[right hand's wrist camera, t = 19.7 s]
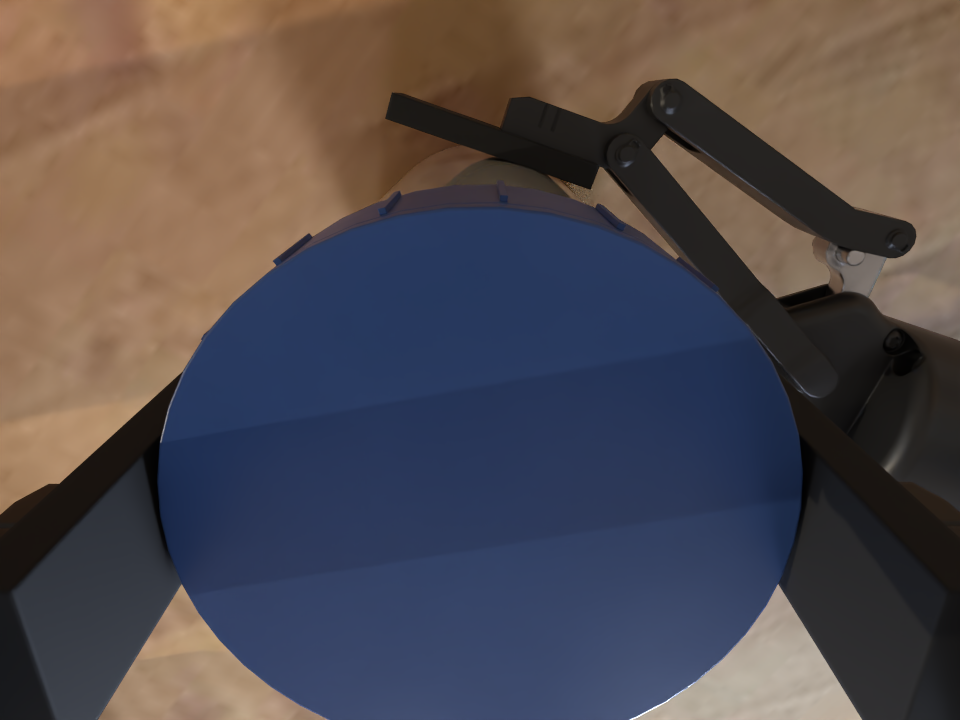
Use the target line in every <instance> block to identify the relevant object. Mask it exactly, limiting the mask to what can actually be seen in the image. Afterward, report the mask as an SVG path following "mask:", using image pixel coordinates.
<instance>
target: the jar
mask: <svg viewBox="0 0 960 720" xmlns="http://www.w3.org/2000/svg"><path fill="white" fill-rule="evenodd" d="M497 180H501V181H504V184H505V186H512V187H521V188H529V189H536V190H540V191H544V192H548V193H552V194H556V195H559V196H563V197H567V198H571V199H575V200H577V201H579V202H582V201H581V200H580V199H579V198H578V197H577V196H576V195H575V194H574V193H573V192H572V191H571V190H570V189H569V188H568V187H567V186H566V185H565V184H564V183H563V182H562V181H561V180H560V179H558V178H555V177H552V176H550V175H547V174H544V173H541V172H538V171H535V170H532V169H530V168H526V167H524V166H521V165H518V164H515V163H512V162H509V161H506V160H503V159H500V158H498V157H495V156H492V155H489V154H486V153H483V152H480V151H477V150H475V149H472V148H469V147H466V146H463V145H459V146H455V147H451V148H448V149H445V150H442V151H440V152H438V153H435V154H433V155H431V156H429V157H428V158H426V159H424V160H423V161H421V162H420V163H418V164H417V165H416V166H415V167H413V168H412V169H411V170H410V171H409V172H408V173H407V174H406V175H405V176H404V177H403V178H402V179H401V180H399V181H398V182H397V183H396V184H395V185H394V186H393V187H392V188H391V189H390V190H389V191H388V192H387V193H386V194H385V195H384V196H383V197H382V198H381V199H380V200H379V201H378V202H380V201H384V200H387V199H388V198H389V197H390V196H391V195H392V194H393V193H394V192H396V191H400V192H401V195H404V194H408V193H411V192H414V191H420V190H426V189H433V188H440V187H446V186H453V185H497ZM582 203H583V202H582Z"/></svg>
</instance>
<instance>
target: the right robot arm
mask: <svg viewBox="0 0 960 720" xmlns="http://www.w3.org/2000/svg"><path fill="white" fill-rule="evenodd" d="M182 373H183V372H182ZM182 373H181V374H179V375H178V376H177V377H176V378H175V379H174V380H173V381H172V382H171V383H170V384H169V385H167V386H166V387H165V388H164V389H163V390H162V391H161V392H160V393H159V394H158V395H156V396H155V397H154V398H153V399H152V400H151V401H150V402H149V403H148V404H147V405H145V406H144V407H143V408H142V409H141V410H140V411H139V412H138V413H137V414H136V415H134V416H133V417H132V418H131V419H130V420H129V421H128V422H127V423H126V424H125V425H123V426H122V427H121V428H120V429H119V430H118V431H117V432H116V433H115V434H114V435H112V436H111V437H110V438H109V439H108V440H107V441H106V442H105V443H104V444H103V445H102V446H100V447H99V448H98V449H97V450H96V451H95V452H94V453H93V454H92V455H91V456H89V457H88V458H87V459H86V460H85V461H84V462H83V463H82V464H81V465H80V466H78V467H77V468H76V469H75V470H74V471H73V472H72V473H71V474H70V475H69V476H67V477H66V478H65V479H64V480H63V481H62V482H61V483H60V484H48V485H46V486H44V487H42V488H40V489H39V490H37V491H35V492H33V493H31V494H29V495H28V496H26V497H24V498H22V499H20V500H18V501H16V502H15V503H14V504H12V505H11V506H10V507H9V508H8V509H7V510H5V511H4V512H3V513H2V514H1V515H0V720H98V718H99V717H100V715H101V713H102V712H103V710H104V709H105V707H106V705H107V704H108V702H109V701H110V699H111V697H112V696H113V694H114V692H115V691H116V689H117V688H118V686H119V684H120V683H121V681H122V679H123V678H124V676H125V675H126V673H127V671H128V670H129V668H130V667H131V665H132V663H133V662H134V660H135V658H136V657H137V655H138V654H139V652H140V650H141V649H142V647H143V645H144V644H145V642H146V641H147V639H148V637H149V636H150V634H151V633H152V631H153V629H154V628H155V626H156V624H157V623H158V621H159V620H160V618H161V616H162V615H163V613H164V612H165V610H166V608H167V607H168V605H169V603H170V602H171V600H172V599H173V597H174V595H175V594H176V592H177V590H178V589H179V587H180V586H181V584H182V583H181V581H180V578H179V576H178V573H177V571H176V568H175V566H174V564H173V561H172V559H171V556H170V554H169V551H168V547H167V543H166V539H165V535H164V531H163V527H162V522H161V518H160V510H159V498H158V486H157V474H158V461H159V447H160V440H161V436H162V432H163V428H164V423H165V419H166V415H167V411H168V407H169V404H170V402H171V399H172V397H173V394H174V392H175V390H176V387H177V385H178V382H179V380H180V378H181V375H182ZM777 373H778V372H777ZM778 376H779V378H780V380H781V382H782V384H783V386H784V389H785V391H786V393H787V395H788V397H789V401H790V404H791V408H792V411H793V415H794V419H795V422H796V426H797V429H798V433H799V440H800V449H801V458H802V467H803V484H802V505H801V512H800V517H799V522H798V527H797V532H796V537H795V542H794V545H793V548H792V550H791V553H790V556H789V559H788V561H787V564H786V567H785V570H784V572H783V575H782V577H781V579H780V581H779V583H778V584H779V586H780V587H781V589H782V590H783V592H784V594H785V595H786V597H787V599H788V600H789V602H790V603H791V605H792V607H793V608H794V610H795V612H796V613H797V615H798V616H799V618H800V620H801V621H802V623H803V624H804V626H805V628H806V629H807V631H808V633H809V634H810V636H811V637H812V639H813V641H814V642H815V644H816V646H817V647H818V649H819V650H820V652H821V654H822V655H823V657H824V658H825V660H826V662H827V663H828V665H829V667H830V668H831V670H832V671H833V673H834V675H835V676H836V678H837V680H838V681H839V683H840V684H841V686H842V688H843V689H844V691H845V692H846V694H847V696H848V697H849V699H850V701H851V702H852V704H853V705H854V707H855V709H856V710H857V712H858V714H859V715H860V717H861V718H862V720H960V512H959V511H958V510H957V509H956V508H954V507H953V506H952V505H951V504H950V503H949V502H947V501H946V500H945V499H943V498H941V497H939V496H937V495H935V494H934V493H932V492H930V491H928V490H926V489H924V488H922V487H921V486H919V485H917V484H915V483H913V482H898V481H897V480H896V479H895V478H894V477H893V476H891V475H890V474H889V473H888V472H887V471H886V470H885V469H884V468H883V467H882V466H880V465H879V464H878V463H877V462H876V461H875V460H874V459H873V458H872V457H871V456H869V455H868V454H867V453H866V452H865V451H864V450H863V449H862V448H861V447H860V446H858V445H857V444H856V443H855V442H854V441H853V440H852V439H851V438H850V437H849V436H847V435H846V434H845V433H844V432H843V431H842V430H841V429H840V428H839V427H838V426H836V425H835V424H834V423H833V422H832V421H831V420H830V419H829V418H828V417H827V416H826V415H824V414H823V413H822V412H821V411H820V410H819V409H818V408H817V407H816V406H815V405H813V404H812V403H811V402H810V401H809V400H808V399H807V398H806V397H805V396H804V395H802V394H801V393H800V392H799V391H798V390H797V389H796V388H795V387H794V386H793V385H791V384H790V383H789V382H788V381H787V380H786V379H785V378H784V377H783V376H782V375H780V374H779V373H778Z"/></svg>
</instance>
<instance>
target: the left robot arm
mask: <svg viewBox="0 0 960 720" xmlns="http://www.w3.org/2000/svg"><path fill="white" fill-rule="evenodd" d="M385 119H388V120H391V121H394V122H397V123H399V124H402V125H405V126H408V127H411V128H414V129H417V130H420V131H423V132H425V133H428V134H431V135H434V136H437V137H440V138H443V139H446V140H449V141H451V142H454V143H457V144H460V145H463V146H466V147H469V148H472V149H475V150H477V151H480V152H483V153H486V154H489V155H492V156H495V157H498V158H500V159H503V160H506V161H509V162H512V163H515V164H518V165H521V166H524V167H526V168H530V169H532V170H535V171H538V172H541V173H544V174H547V175H550V176H552V177H555V178H558V179H561V180H564V181H567V182H570V183H573V184H576V185H578V186H581V187H584V188H587V189H591V187H592V184H593V182H594V179H595V176H596V174H597V171H598V169H599V166H600V167H603V168H604V169H605V171H606V172H607V173H608V174H609V175H610V176H611V178H612V179H613V180H614V181H615V182H616V183H617V185H618V186H619V187H620V188H621V189H622V190H623V192H624V193H625V194H626V195H627V196H628V197H629V199H630V200H631V201H632V202H633V203H634V204H635V206H636V207H637V208H638V209H639V210H640V211H641V212H642V214H643V215H644V216H645V217H646V218H647V219H648V221H649V222H650V223H651V224H652V225H653V226H654V228H655V229H656V230H657V231H658V232H659V233H660V235H661V236H662V237H663V238H664V239H665V240H666V242H667V243H668V244H669V245H670V246H671V247H672V249H673V250H674V251H675V252H676V253H677V254H678V255H679V257H681V258H682V259H683V260H684V261H686V262H687V263H688V264H690V265H691V266H692V267H693V268H695V269H696V270H697V271H698V272H700V273H701V274H702V275H704V276H705V277H706V278H707V279H709V280H710V281H711V282H713V283H714V284H715V285H716V286H717V287H718V288H719V290H718V291H717V292H716V293H717V294H719V295H720V296H721V297H722V299H723V300H724V301H725V302H726V303H727V304H728V305H729V306H730V307H731V308H732V309H733V310H734V312H735V313H736V314H737V315H738V316H739V317H740V318H741V319H742V320H743V321H744V322H745V323H746V325H747V326H748V327H749V328H750V330H751V331H752V332H753V334H754V335H755V337H756V338H757V340H758V341H759V343H760V344H761V346H762V347H763V349H764V350H765V352H766V353H767V355H768V356H769V358H770V359H771V361H772V363H773V365H774V367H775V369H776V371H777V372H778V373H779V374H780V375H782V376H783V377H784V378H785V379H786V380H787V381H788V382H789V383H790V384H791V385H793V386H794V387H795V388H796V389H797V390H798V391H799V392H800V393H801V394H802V395H804V396H805V397H806V398H807V399H808V400H809V401H810V402H811V403H812V404H813V405H815V406H816V407H817V408H818V409H819V410H820V411H821V412H822V413H823V414H824V415H826V416H827V417H828V418H829V419H830V420H831V421H832V422H833V423H834V424H835V425H836V426H838V427H839V428H840V429H841V430H842V431H843V432H844V433H845V434H846V435H847V436H849V437H850V438H851V439H852V440H853V441H854V442H855V443H856V444H857V445H858V446H860V447H861V448H862V449H863V450H864V451H865V452H866V453H867V454H868V455H869V456H871V457H872V458H873V459H874V460H875V461H876V462H877V463H878V464H879V465H880V466H882V467H883V468H884V469H885V470H886V471H887V472H888V473H889V474H890V475H891V476H893V477H894V478H895V479H896V480H897V481H898V482H913V483H915V484H917V485H919V486H921V487H922V488H924V489H926V490H928V491H930V492H932V493H934V494H935V495H937V496H939V497H941V498H943V499H945V500H946V501H947V502H949V503H950V504H951V505H952V506H953V507H954V508H956V509H957V510H958V511H959V512H960V341H958V340H956V339H953V338H950V337H947V336H944V335H941V334H938V333H935V332H932V331H929V330H926V329H923V328H920V327H917V326H914V325H911V324H909V323H906V322H903V321H900V320H897V319H894V318H891V317H888V316H885V315H883V314H882V313H881V312H880V311H879V310H878V309H877V307H876V305H875V304H874V303H873V302H872V301H871V300H870V299H869V298H868V297H869V295H870V293H871V291H872V289H873V287H874V284H875V282H876V280H877V278H878V276H879V273H880V271H881V269H882V267H883V265H884V263H885V260H886V258H898V257H900V256H903V255H904V254H906V253H907V252H908V251H910V249H911V248H912V246H913V245H914V243H915V239H916V231H915V228H914V227H913V226H912V224H910V223H908V222H906V221H903V220H899V219H896V218H892V217H889V216H885V215H882V214H878V213H875V212H871V211H868V210H864V209H860V208H856V207H852V206H850V205H849V204H848V203H846V202H845V201H844V200H842V199H841V198H840V197H838V196H837V195H836V194H834V193H833V192H831V191H830V190H829V189H827V188H826V187H825V186H823V185H822V184H821V183H819V182H818V181H817V180H815V179H814V178H813V177H811V176H810V175H809V174H807V173H806V172H805V171H803V170H802V169H801V168H799V167H798V166H797V165H795V164H794V163H793V162H791V161H790V160H788V159H787V158H786V157H784V156H783V155H782V154H780V153H779V152H778V151H776V150H775V149H774V148H772V147H771V146H770V145H768V144H767V143H766V142H764V141H763V140H762V139H760V138H759V137H758V136H756V135H755V134H754V133H752V132H751V131H749V130H748V129H747V128H745V127H744V126H743V125H741V124H740V123H739V122H737V121H736V120H735V119H733V118H732V117H731V116H729V115H728V114H727V113H725V112H724V111H723V110H721V109H720V108H719V107H717V106H716V105H715V104H713V103H712V102H710V101H709V100H708V99H706V98H705V97H704V96H702V95H701V94H700V93H698V92H697V91H696V90H694V89H693V88H692V87H690V86H689V85H688V84H686V83H685V82H683V81H681V80H679V79H664V80H655V81H648V82H646V83H644V84H642V85H641V86H640V87H639V88H638V89H637V90H636V92H635V95H634V97H633V99H632V100H631V101H630V103H629V104H628V105H627V106H626V108H625V109H624V110H623V111H622V113H621V114H620V115H618V116H617V117H616V118H615V119H613V120H611V121H608V122H598V121H595V120H592V119H590V118H587V117H584V116H581V115H579V114H576V113H573V112H570V111H567V110H565V109H562V108H559V107H556V106H554V105H551V104H548V103H545V102H542V101H540V100H537V99H534V98H531V97H520V98H510V99H509V102H508V105H507V108H506V111H505V114H504V117H503V120H502V124H501V127H500V128H499V127H496V126H494V125H491V124H488V123H485V122H482V121H479V120H477V119H474V118H471V117H468V116H465V115H462V114H460V113H457V112H454V111H451V110H448V109H445V108H442V107H440V106H437V105H434V104H431V103H428V102H425V101H423V100H420V99H417V98H414V97H411V96H408V95H406V94H403V93H393V92H392V95H391V98H390V102H389V106H388V110H387V114H386V118H385ZM663 134H664V135H665V136H667V137H668V138H669V139H671V140H672V141H674V142H675V143H676V144H678V145H679V146H681V147H682V148H683V149H685V150H686V151H688V152H689V153H690V154H692V155H693V156H695V157H696V158H697V159H699V160H700V161H701V162H703V163H704V164H706V165H707V166H708V167H710V168H711V169H713V170H714V171H715V172H717V173H718V174H720V175H721V176H722V177H724V178H725V179H727V180H728V181H729V182H731V183H732V184H734V185H735V186H736V187H738V188H739V189H741V190H742V191H743V192H745V193H746V194H747V195H749V196H750V197H752V198H753V199H754V200H756V201H757V202H759V203H760V204H761V205H763V206H764V207H766V208H767V209H768V210H770V211H771V212H773V213H774V214H775V215H777V216H778V217H780V218H781V219H782V220H784V221H785V222H787V223H789V224H790V225H792V226H793V227H795V228H798V229H800V230H802V231H804V232H807V233H809V234H812V235H814V236H816V237H815V238H814V240H813V242H812V246H813V254H814V256H815V258H816V259H817V260H818V261H819V262H821V263H823V264H824V265H826V266H827V267H828V269H829V271H830V281H829V284H824V285H820V286H817V287H813V288H810V289H807V290H803V291H800V292H796V293H793V294H789V295H786V296H782V297H779V298H775V297H774V296H773V295H772V294H771V293H770V291H768V290H767V289H766V288H765V287H764V286H763V285H762V284H761V283H760V282H759V281H758V280H757V278H756V277H755V276H754V275H753V274H752V272H751V271H750V270H749V269H748V267H747V266H746V265H745V264H744V263H743V261H742V260H741V259H740V258H739V257H738V255H737V254H736V253H735V252H734V250H733V249H732V248H731V247H730V246H729V244H728V243H727V242H726V241H725V240H724V238H723V237H722V236H721V235H720V234H719V232H718V231H717V230H716V229H715V227H714V226H713V225H712V224H711V223H710V221H709V220H708V219H707V218H706V217H705V215H704V214H703V213H702V212H701V211H700V209H699V208H698V207H697V206H696V204H695V203H694V202H693V201H692V200H691V198H690V197H689V196H688V195H687V194H686V192H685V191H684V190H683V189H682V188H681V186H680V185H679V184H678V183H677V181H676V180H675V179H674V178H673V177H672V175H671V174H670V173H669V172H668V171H667V169H666V168H665V167H664V166H663V164H662V163H661V162H660V161H659V160H658V158H657V157H656V156H655V155H654V154H653V152H652V151H651V149H652V147H653V146H654V145H655V144H656V143H657V142H658V140H659V139H660V138H661V137H662V136H663Z"/></svg>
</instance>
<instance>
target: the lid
mask: <svg viewBox="0 0 960 720" xmlns="http://www.w3.org/2000/svg"><path fill="white" fill-rule="evenodd" d="M273 262H274V263H275V264H276V267H274V268H273V269H272V270H271V271H269V272H268V273H267V274H266V275H265V276H263V277H262V278H261V279H260V280H259V281H258V282H256V283H255V284H254V285H253V286H252V287H251V288H249V289H248V290H247V291H246V292H245V293H244V294H242V295H241V296H240V297H239V298H238V299H237V300H236V301H234V302H233V303H232V304H231V306H230V307H229V308H228V309H227V310H226V311H225V313H224V314H223V315H222V316H221V317H220V318H219V320H218V321H217V322H216V323H215V324H214V325H213V327H212V328H211V329H210V330H209V331H207V332H206V333H205V334H204V335H203V337H202V338H201V340H202V341H201V343H200V344H199V346H198V348H197V349H196V351H195V352H194V354H193V356H192V357H191V359H190V361H189V362H188V364H187V365H186V367H185V369H184V370H183V373H182V375H181V378H180V380H179V382H178V385H177V387H176V390H175V392H174V394H173V397H172V399H171V402H170V404H169V407H168V411H167V415H166V419H165V423H164V428H163V432H162V436H161V440H160V447H159V461H158V474H157V486H158V498H159V510H160V518H161V522H162V527H163V531H164V535H165V539H166V543H167V547H168V551H169V554H170V556H171V559H172V561H173V564H174V566H175V568H176V571H177V573H178V576H179V578H180V581H181V583H182V585H183V587H184V588H185V590H186V592H187V594H188V595H189V597H190V599H191V601H192V602H193V604H194V606H195V608H196V609H197V611H198V613H199V614H200V615H201V617H202V618H203V619H204V621H205V622H206V623H207V625H208V626H209V627H210V628H211V630H212V631H213V632H214V634H215V635H216V636H217V638H218V639H219V640H220V641H221V642H222V643H223V644H224V645H225V646H226V647H227V648H228V649H229V650H230V651H231V652H232V654H233V655H234V656H235V657H236V658H237V659H238V660H239V661H240V662H241V663H242V664H243V665H244V666H246V667H247V668H248V669H249V670H251V671H252V672H253V673H254V674H256V675H257V676H258V677H259V678H261V679H262V680H263V681H264V682H266V683H267V684H268V685H269V686H270V687H272V688H274V689H275V690H277V691H278V692H280V693H281V694H283V695H285V696H286V697H288V698H289V699H291V700H292V701H294V702H295V703H297V704H299V705H300V706H302V707H304V708H306V709H308V710H310V711H312V712H314V713H316V714H318V715H320V716H322V717H324V718H326V719H328V720H632V719H634V718H637V717H639V716H640V715H642V714H644V713H646V712H648V711H650V710H652V709H654V708H655V707H657V706H659V705H661V704H663V703H665V702H667V701H668V700H670V699H671V698H673V697H674V696H676V695H677V694H679V693H680V692H682V691H683V690H685V689H686V688H688V687H689V686H691V685H692V684H694V683H695V682H696V681H698V680H699V679H700V678H701V677H702V676H704V675H705V674H706V673H707V672H708V671H709V670H711V669H712V668H713V667H714V666H715V665H716V664H718V663H719V662H720V661H721V660H722V659H723V658H724V657H725V656H726V655H727V654H728V653H729V652H730V651H731V650H732V649H733V647H734V646H735V645H736V644H737V643H738V642H739V641H740V640H741V639H742V638H743V637H744V636H745V635H746V633H747V632H748V630H749V629H750V628H751V626H752V625H753V624H754V622H755V621H756V619H757V618H758V617H759V615H760V614H761V612H762V611H763V610H764V608H765V607H766V605H767V603H768V601H769V600H770V598H771V596H772V594H773V592H774V590H775V588H776V586H777V585H778V583H779V581H780V579H781V577H782V575H783V572H784V570H785V567H786V564H787V561H788V559H789V556H790V553H791V550H792V548H793V545H794V542H795V537H796V532H797V527H798V522H799V517H800V512H801V505H802V484H803V467H802V458H801V449H800V440H799V433H798V429H797V426H796V422H795V419H794V415H793V411H792V408H791V404H790V401H789V397H788V395H787V393H786V391H785V389H784V386H783V384H782V382H781V380H780V378H779V376H778V373H777V371H776V369H775V367H774V365H773V363H772V361H771V359H770V358H769V356H768V355H767V353H766V352H765V350H764V349H763V347H762V346H761V344H760V343H759V341H758V340H757V338H756V337H755V335H754V334H753V332H752V331H751V330H750V328H749V327H748V326H747V325H746V323H745V322H744V321H743V320H742V319H741V318H740V317H739V316H738V315H737V314H736V313H735V312H734V310H733V309H732V308H731V307H730V306H729V305H728V304H727V303H726V302H725V301H724V300H723V299H722V297H721V296H720V295H719V294H717V293H716V292H717V291H718V290H719V288H718V287H717V286H716V285H715V284H714V283H713V282H711V281H710V280H709V279H707V278H706V277H705V276H704V275H702V274H701V273H700V272H698V271H697V270H696V269H695V268H693V267H692V266H691V265H690V264H688V263H687V262H686V261H684V260H683V259H682V258H681V257H679V258H678V259H677V260H675V259H674V258H673V257H672V256H671V255H669V254H668V253H667V252H666V251H664V250H663V249H662V248H661V247H659V246H658V245H657V244H656V243H654V242H653V241H652V240H651V239H649V238H648V237H647V236H646V235H644V234H643V233H641V232H640V231H638V230H636V229H634V228H633V227H631V226H629V225H628V224H626V223H624V222H623V221H621V220H619V219H618V218H617V217H616V216H615V215H613V214H612V213H611V212H610V211H609V210H608V209H606V208H605V207H604V206H603V205H600V204H597V206H596V208H594V207H591V206H589V205H587V204H584V203H582V202H579V201H577V200H575V199H571V198H567V197H563V196H559V195H556V194H552V193H548V192H544V191H540V190H536V189H529V188H521V187H512V186H505V184H504V181H501V180H497V185H453V186H446V187H440V188H433V189H426V190H420V191H414V192H411V193H408V194H404V195H401V192H400V191H396V192H394V193H393V194H392V195H391V196H390V197H389V198H388V199H387V200H384V201H380V202H377V203H375V204H373V205H370V206H368V207H366V208H364V209H362V210H359V211H357V212H355V213H353V214H351V215H348V216H346V217H344V218H342V219H340V220H339V221H337V222H335V223H334V224H332V225H331V226H329V227H328V228H326V229H324V230H323V231H321V232H320V233H318V234H317V235H315V236H313V237H312V236H311V235H310V234H307V235H306V236H304V237H303V238H302V239H301V240H299V241H298V242H297V243H295V244H294V245H293V246H291V247H290V248H289V249H288V250H286V251H285V252H284V253H282V254H281V255H280V256H279V257H277V258H276V259H275V260H273Z"/></svg>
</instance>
